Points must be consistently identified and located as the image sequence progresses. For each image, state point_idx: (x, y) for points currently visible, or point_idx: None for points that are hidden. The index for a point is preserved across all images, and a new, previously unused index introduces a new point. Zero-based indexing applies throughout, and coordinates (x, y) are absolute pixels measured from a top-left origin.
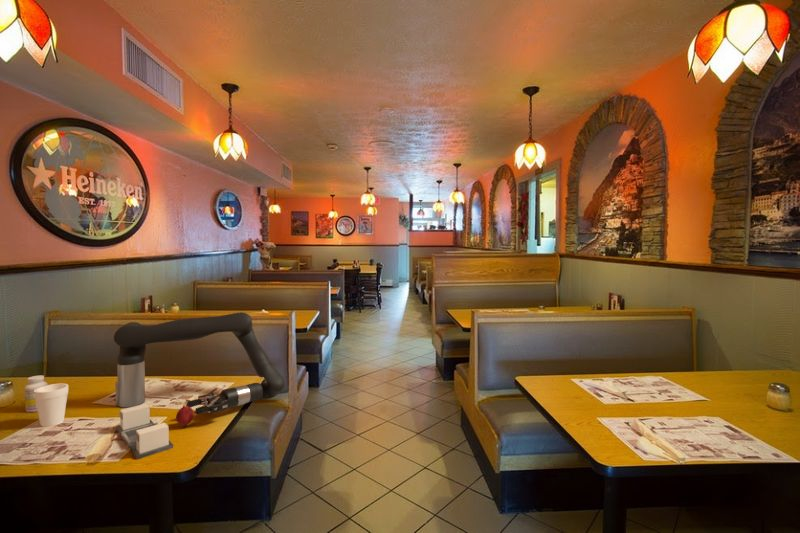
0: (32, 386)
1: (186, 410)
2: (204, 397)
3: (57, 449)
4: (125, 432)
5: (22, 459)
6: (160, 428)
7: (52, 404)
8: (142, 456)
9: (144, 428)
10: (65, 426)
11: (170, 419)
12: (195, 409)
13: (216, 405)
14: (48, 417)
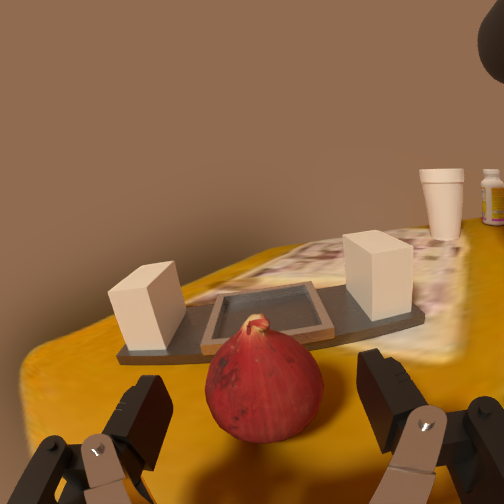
0: (482, 181)
1: (218, 351)
2: (430, 469)
3: (324, 255)
4: (305, 287)
5: (313, 245)
6: (120, 283)
7: (427, 196)
8: None
9: (165, 266)
10: (427, 244)
11: (411, 377)
12: (160, 378)
13: (33, 467)
14: (429, 219)
